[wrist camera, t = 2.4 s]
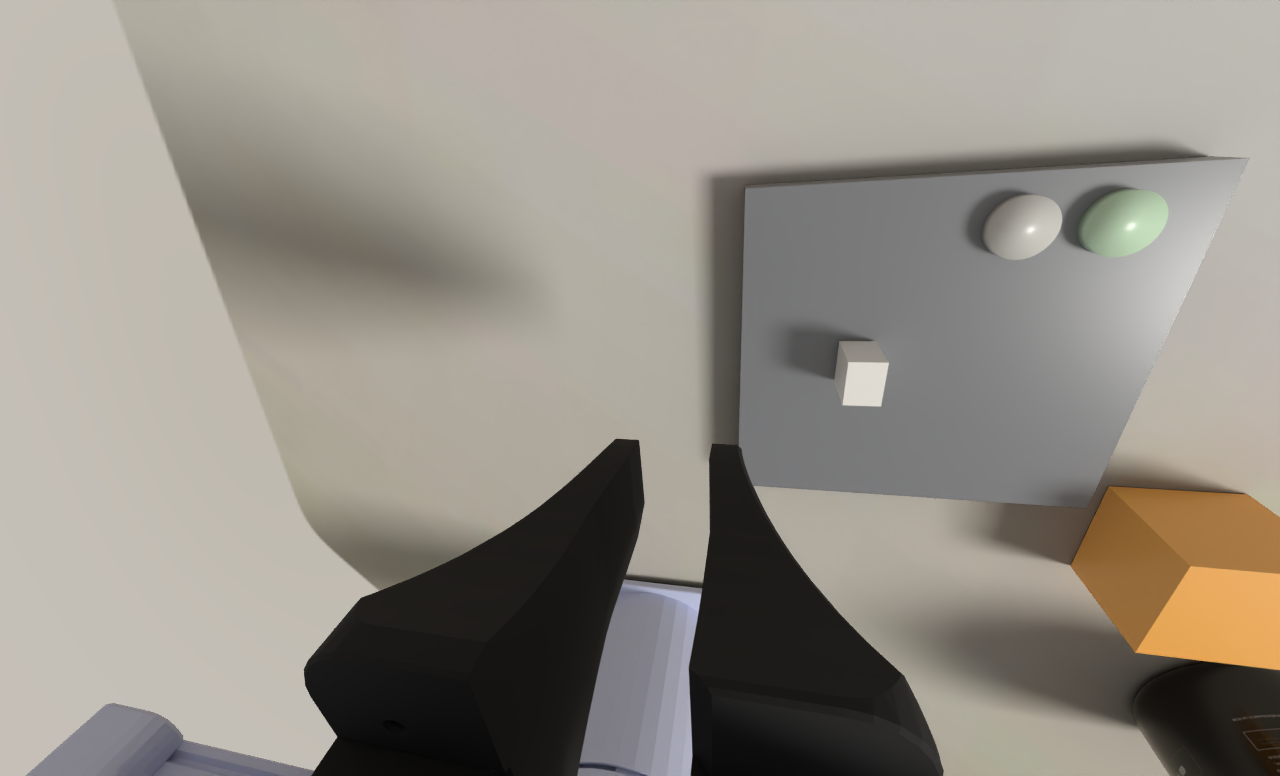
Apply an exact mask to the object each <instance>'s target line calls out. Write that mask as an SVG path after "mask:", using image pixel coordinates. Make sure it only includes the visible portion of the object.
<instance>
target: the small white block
mask: <svg viewBox="0 0 1280 776" xmlns="http://www.w3.org/2000/svg"><path fill="white" fill-rule="evenodd" d="M888 365H889V362H888V360H887V359H886V357H885V355H884V354H883V352H882V351H881V349H880V347H879V346H878V344H877V342H876V341H839V347H838V355H837V362H836V370H835V378H834V382H835V385H836V388H837V391H838V394H839V397H840V400H841V403H842V405H848V406H879V407H881V404H882V398H883V393H884V387H885V382H886V376H887V371H888Z"/></svg>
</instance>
